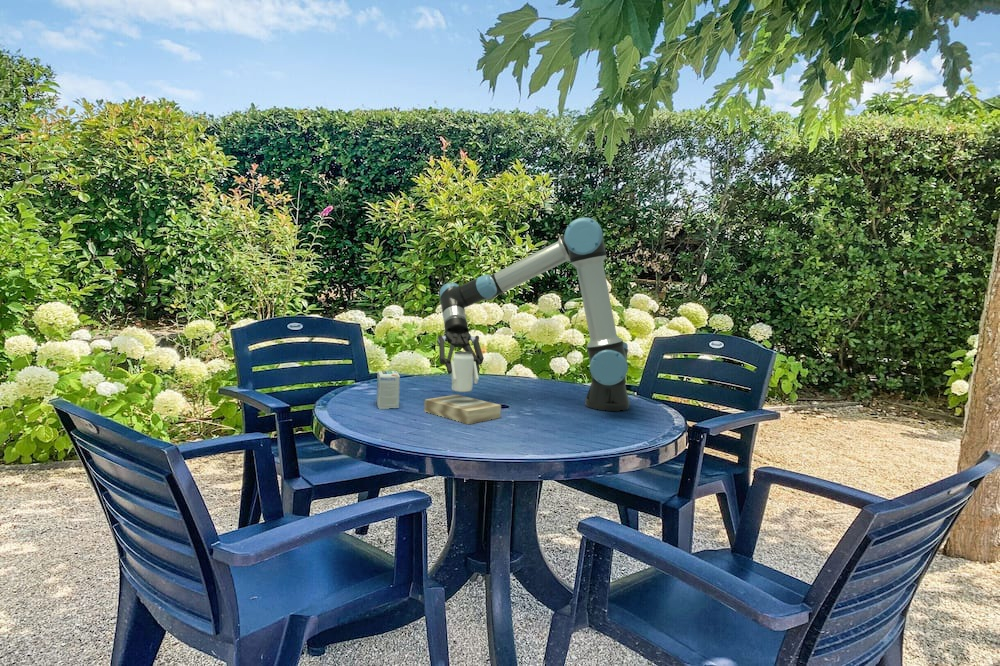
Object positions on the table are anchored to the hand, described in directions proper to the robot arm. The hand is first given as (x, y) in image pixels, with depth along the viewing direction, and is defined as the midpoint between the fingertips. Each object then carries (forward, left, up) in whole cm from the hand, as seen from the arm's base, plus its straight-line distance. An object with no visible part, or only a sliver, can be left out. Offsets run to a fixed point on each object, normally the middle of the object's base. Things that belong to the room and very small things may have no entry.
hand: (465, 381), depth 186 cm
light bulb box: (+27, +9, -12) cm, 31 cm away
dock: (+3, -2, -11) cm, 12 cm away
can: (+3, -2, -4) cm, 5 cm away
